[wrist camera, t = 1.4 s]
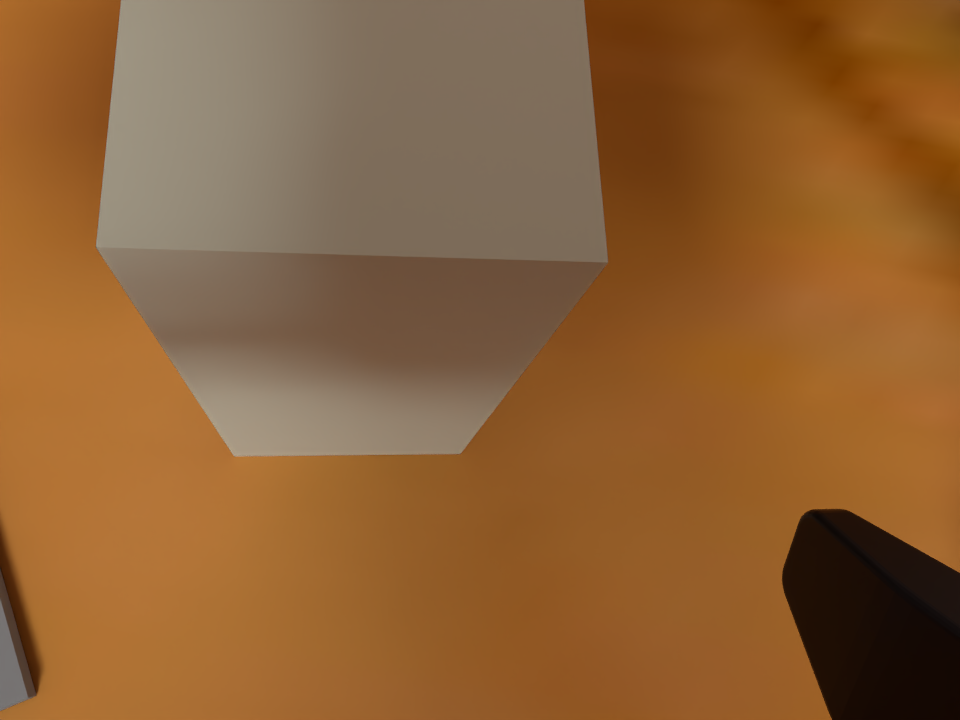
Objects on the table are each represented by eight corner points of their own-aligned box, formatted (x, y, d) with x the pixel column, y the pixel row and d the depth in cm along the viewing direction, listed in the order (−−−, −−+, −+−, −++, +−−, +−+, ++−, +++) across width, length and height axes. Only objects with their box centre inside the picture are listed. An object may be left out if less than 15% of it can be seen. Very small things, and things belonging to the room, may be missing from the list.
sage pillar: (460, 454, 21) (607, 262, 9) (234, 456, 20) (96, 247, 8) (453, 253, 22) (572, -119, 11) (243, 246, 21) (138, -166, 10)
